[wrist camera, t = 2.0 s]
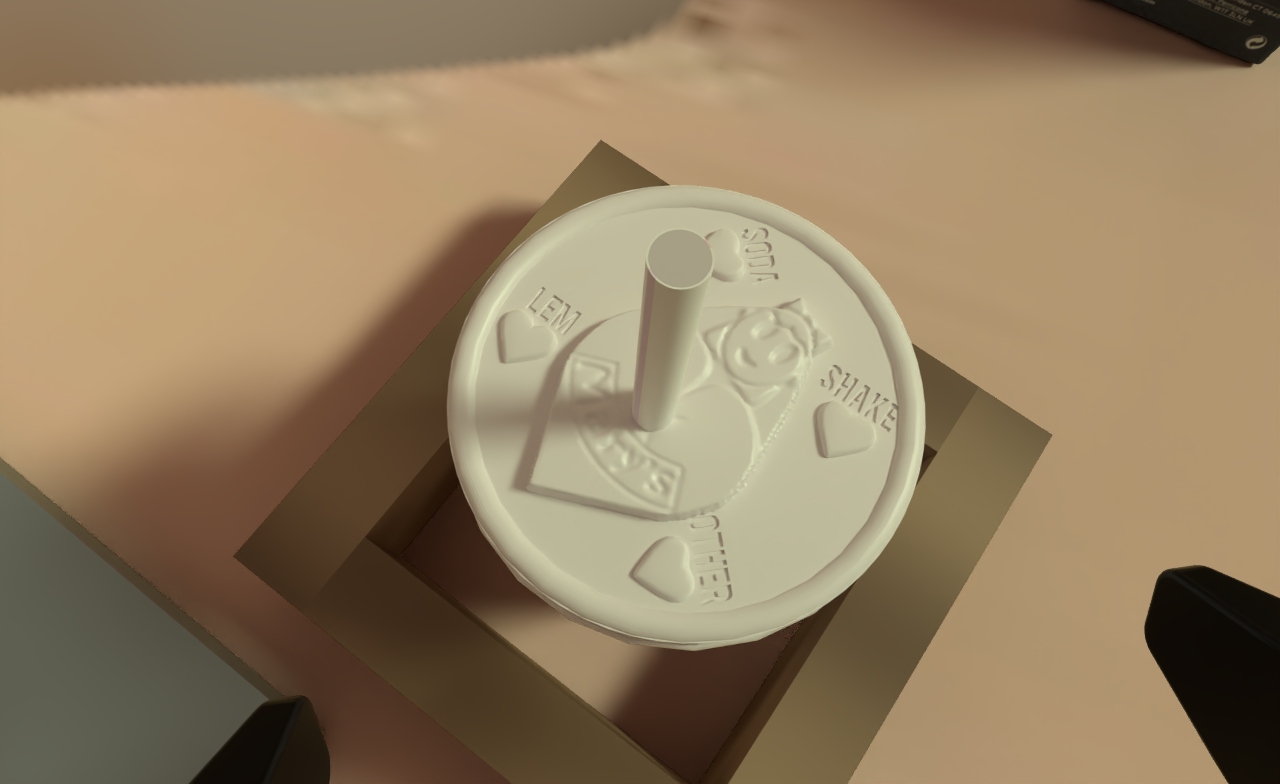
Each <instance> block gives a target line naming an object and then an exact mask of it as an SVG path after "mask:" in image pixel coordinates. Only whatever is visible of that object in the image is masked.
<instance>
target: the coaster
mask: <svg viewBox="0 0 1280 784" xmlns="http://www.w3.org/2000/svg"><path fill="white" fill-rule="evenodd" d="M278 698H285V696H283V695H282V694H281V693H280V692H279V691H277V690H276V689H275V688H274V687H273V686H271V685H270V684H269V683H268V682H267V681H266V680H264V679H263V678H262V677H261V676H260V675H258V674H257V673H256V672H255V671H254V670H252V669H251V668H250V667H249V666H248V665H246V664H245V663H244V662H243V661H242V660H241V659H239V658H238V657H237V656H236V655H235V654H233V653H232V652H231V651H230V650H229V649H227V648H226V647H225V646H224V645H223V644H222V643H220V642H219V641H218V640H217V639H216V638H214V637H213V636H212V635H211V634H210V633H208V632H207V631H206V630H205V629H204V628H202V627H201V626H200V625H199V624H198V623H197V622H195V621H194V620H193V619H192V618H191V617H189V616H188V615H187V614H186V613H185V612H183V611H182V610H181V609H180V608H179V607H177V606H176V605H175V604H174V603H173V602H172V601H170V600H169V599H168V598H167V597H166V596H164V595H163V594H162V593H161V592H160V591H158V590H157V589H156V588H155V587H154V586H153V585H151V584H150V583H149V582H148V581H147V580H145V579H144V578H143V577H142V576H141V575H139V574H138V573H137V572H136V571H135V570H133V569H132V568H131V567H130V566H129V565H128V564H126V563H125V562H124V561H123V560H122V559H120V558H119V557H118V556H117V555H116V554H114V553H113V552H112V551H111V550H110V549H108V548H107V547H106V546H105V545H104V544H103V543H101V542H100V541H99V540H98V539H97V538H95V537H94V536H93V535H92V534H91V533H89V532H88V531H87V530H86V529H85V528H84V527H82V526H81V525H80V524H79V523H78V522H76V521H75V520H74V519H73V518H72V517H70V516H69V515H68V514H67V513H66V512H64V511H63V510H62V509H61V508H60V507H59V506H57V505H56V504H55V503H54V502H53V501H51V500H50V499H49V498H48V497H47V496H45V495H44V494H43V493H42V492H41V491H39V490H38V489H37V488H36V487H35V486H34V485H32V484H31V483H30V482H29V481H28V480H26V479H25V478H24V477H23V476H22V475H20V474H19V473H18V472H17V471H16V470H15V469H13V468H12V467H11V466H10V465H9V464H7V463H6V462H5V461H4V460H3V459H1V458H0V784H188V783H189V782H190V781H191V780H192V779H193V778H194V777H195V776H196V775H197V773H198V772H199V771H200V770H201V769H202V768H203V767H204V766H205V765H206V764H207V762H208V761H209V760H210V759H211V758H212V757H213V756H214V755H215V754H216V752H217V751H218V750H219V749H220V748H221V747H222V746H223V745H224V744H225V743H226V741H227V740H228V739H229V738H230V737H231V736H232V735H233V734H234V733H235V731H236V730H237V729H238V728H239V727H240V726H241V725H242V724H243V723H244V722H245V720H246V719H247V718H248V717H249V716H250V715H251V714H252V713H253V712H254V710H255V709H256V708H257V707H258V706H259V705H261V704H262V703H263V702H265V701H268V700H272V699H278ZM320 728H321V727H320ZM321 731H322V734H324V733H325V730H324V729H323V728H321Z"/></svg>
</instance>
